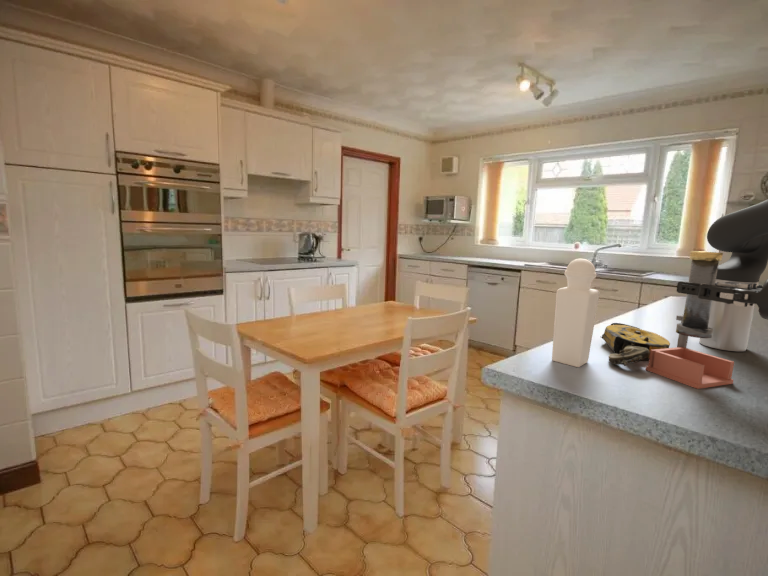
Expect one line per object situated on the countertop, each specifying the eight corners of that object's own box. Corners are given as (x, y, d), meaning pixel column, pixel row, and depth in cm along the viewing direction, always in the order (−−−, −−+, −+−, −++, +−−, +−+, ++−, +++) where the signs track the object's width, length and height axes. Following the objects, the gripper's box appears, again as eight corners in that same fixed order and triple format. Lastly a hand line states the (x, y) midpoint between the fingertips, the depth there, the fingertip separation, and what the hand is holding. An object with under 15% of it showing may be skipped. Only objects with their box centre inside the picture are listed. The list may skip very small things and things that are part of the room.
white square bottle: (591, 362, 85) (604, 259, 82) (580, 369, 81) (593, 260, 77) (560, 354, 90) (571, 256, 86) (548, 360, 85) (559, 257, 82)
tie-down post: (688, 329, 81) (700, 251, 79) (718, 337, 76) (733, 253, 74) (669, 331, 79) (681, 250, 77) (699, 339, 74) (712, 252, 72)
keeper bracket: (677, 363, 87) (685, 314, 85) (736, 383, 76) (746, 327, 75) (640, 368, 83) (648, 316, 81) (697, 388, 73) (707, 330, 71)
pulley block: (590, 334, 83) (612, 313, 107) (582, 359, 85) (605, 333, 109) (670, 359, 75) (674, 331, 99) (659, 387, 77) (667, 352, 101)
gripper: (824, 277, 67) (703, 266, 82) (793, 280, 60) (667, 268, 75) (815, 321, 68) (698, 302, 83) (784, 328, 61) (662, 307, 76)
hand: (684, 286), depth 79 cm, fingers closed on tie-down post, 4 cm apart
